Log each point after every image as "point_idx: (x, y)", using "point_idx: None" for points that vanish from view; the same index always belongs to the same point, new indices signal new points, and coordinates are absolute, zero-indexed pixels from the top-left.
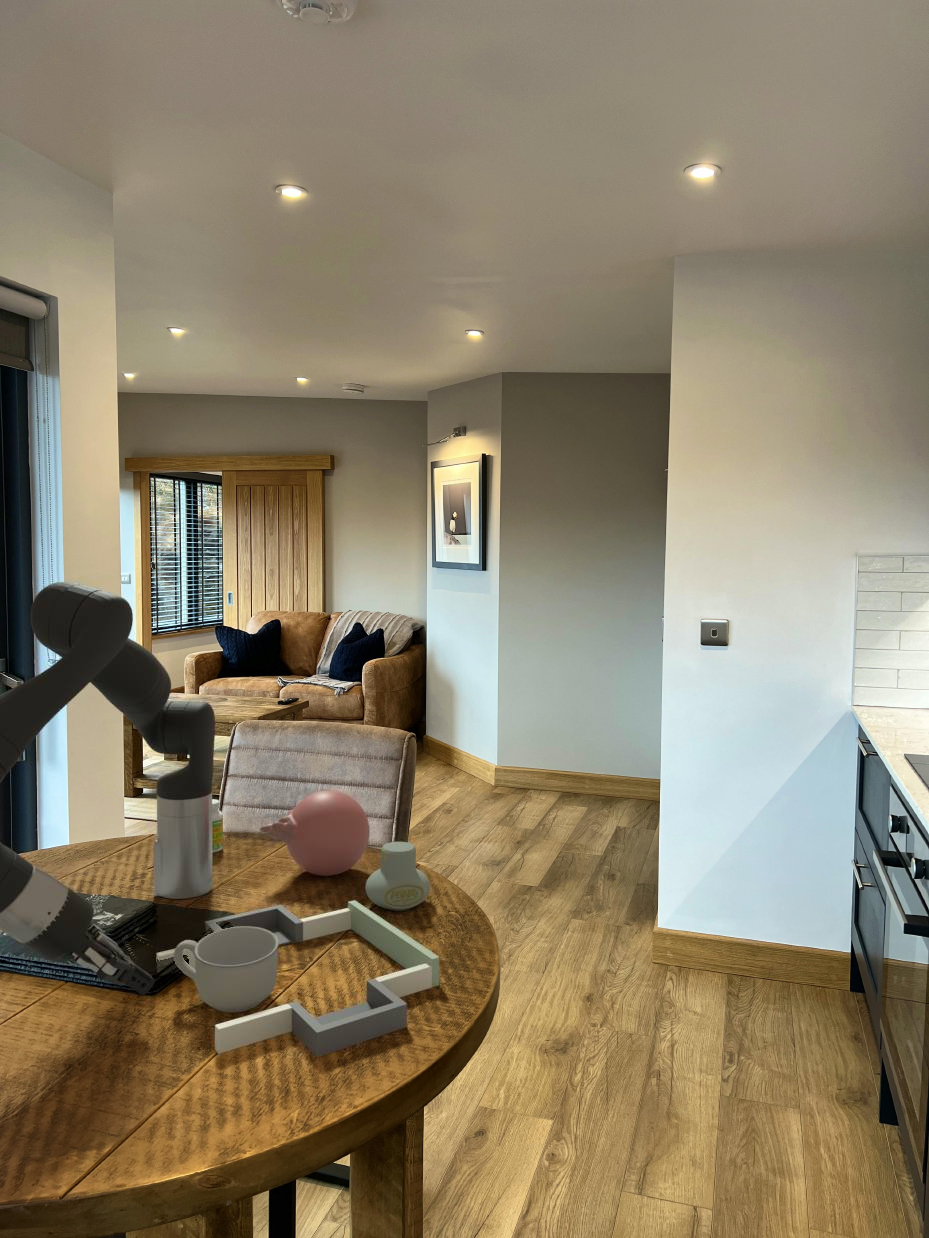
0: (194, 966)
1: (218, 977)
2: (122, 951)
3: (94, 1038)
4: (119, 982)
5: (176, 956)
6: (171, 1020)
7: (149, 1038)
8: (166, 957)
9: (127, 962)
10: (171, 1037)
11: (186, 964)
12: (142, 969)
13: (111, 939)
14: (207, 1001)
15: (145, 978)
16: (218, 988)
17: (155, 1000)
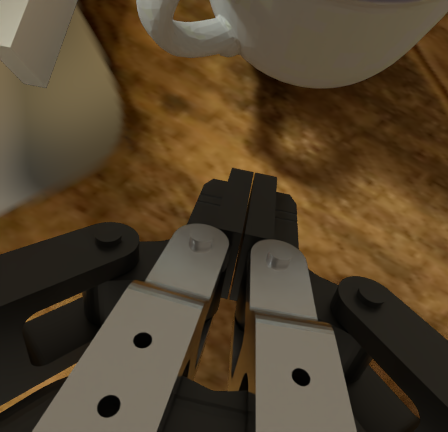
0: (73, 2)
1: (438, 15)
2: (121, 232)
3: (224, 373)
4: (380, 383)
5: (170, 30)
6: (282, 179)
7: (328, 264)
8: (23, 34)
9: (369, 322)
10: (362, 222)
11: (188, 28)
12: (232, 192)
13: (103, 327)
14: (338, 86)
15: (285, 211)
16: (411, 44)
17: (154, 156)
